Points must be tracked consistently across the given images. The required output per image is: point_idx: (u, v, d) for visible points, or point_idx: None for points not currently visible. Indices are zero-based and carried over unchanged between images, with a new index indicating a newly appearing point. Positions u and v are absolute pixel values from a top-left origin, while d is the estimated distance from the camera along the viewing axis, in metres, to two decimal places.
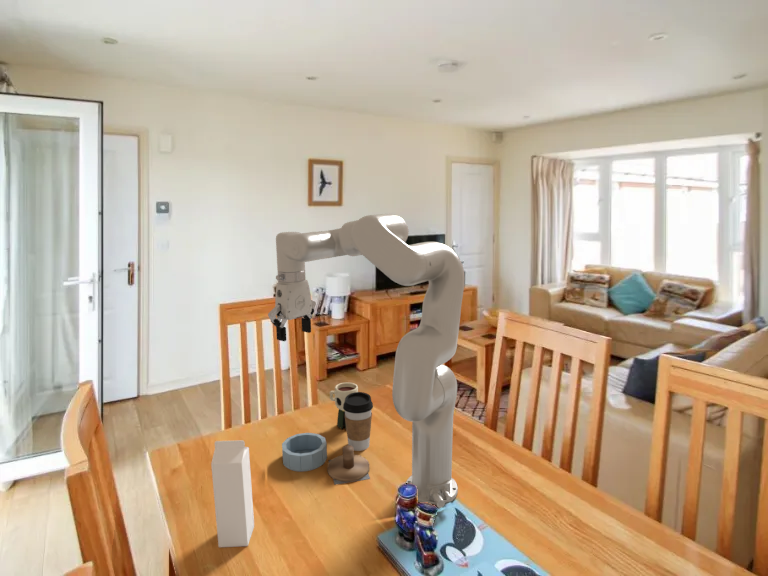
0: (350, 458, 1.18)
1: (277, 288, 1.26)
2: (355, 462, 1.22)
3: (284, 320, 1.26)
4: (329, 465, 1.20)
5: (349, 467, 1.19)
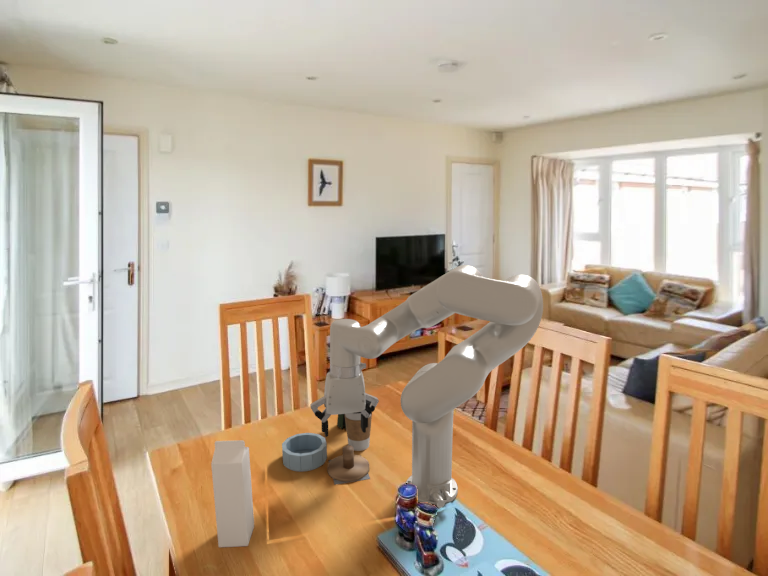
0: (350, 458, 1.18)
1: (363, 379, 1.16)
2: (355, 462, 1.22)
3: None
4: (329, 465, 1.20)
5: (349, 467, 1.19)
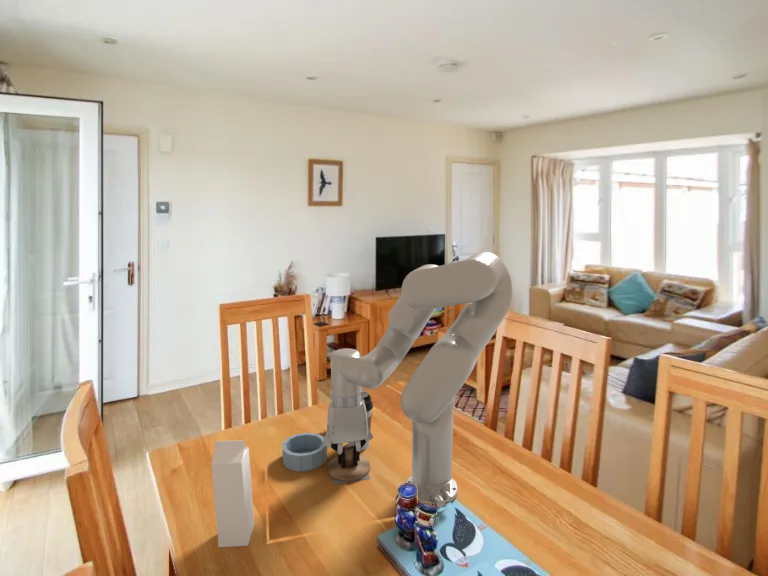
0: (351, 457, 1.18)
1: (365, 407, 1.17)
2: None
3: None
4: (329, 465, 1.20)
5: (349, 467, 1.19)
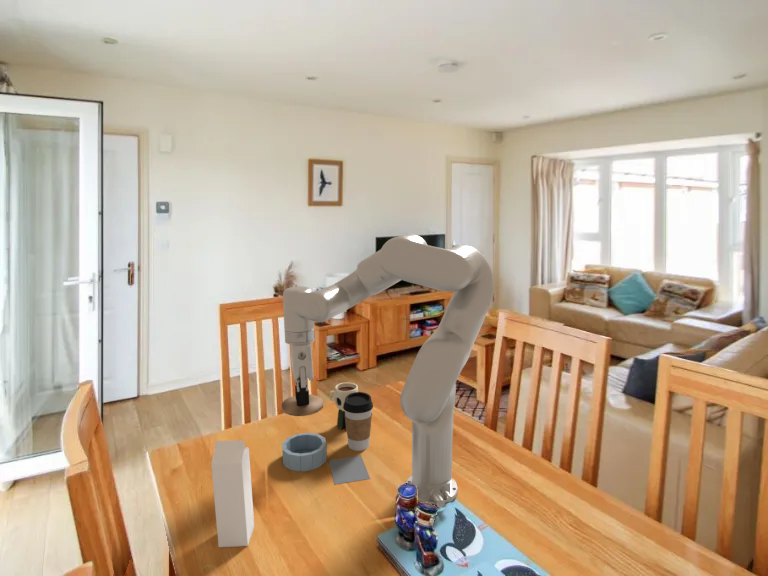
0: None
1: (297, 351, 1.14)
2: (307, 405, 1.20)
3: (307, 383, 1.19)
4: None
5: None
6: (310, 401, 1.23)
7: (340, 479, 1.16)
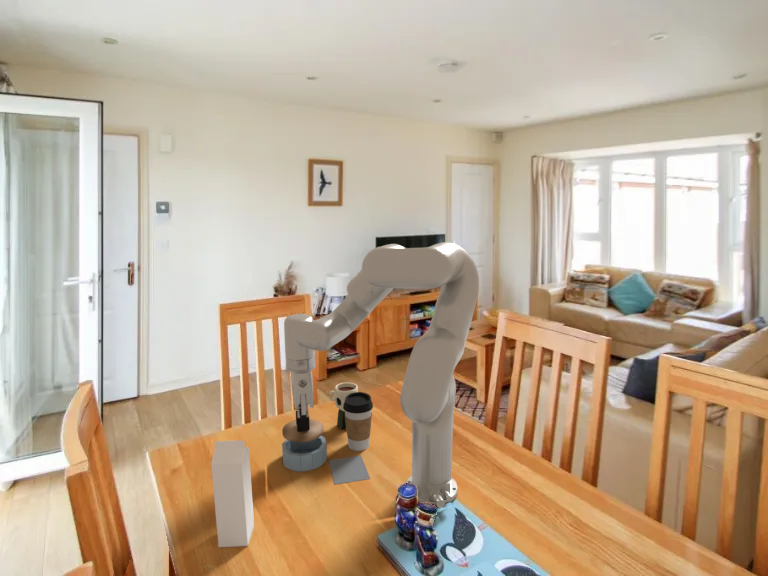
0: None
1: (298, 378, 1.16)
2: (307, 431, 1.22)
3: None
4: None
5: None
6: (310, 426, 1.24)
7: (340, 479, 1.16)
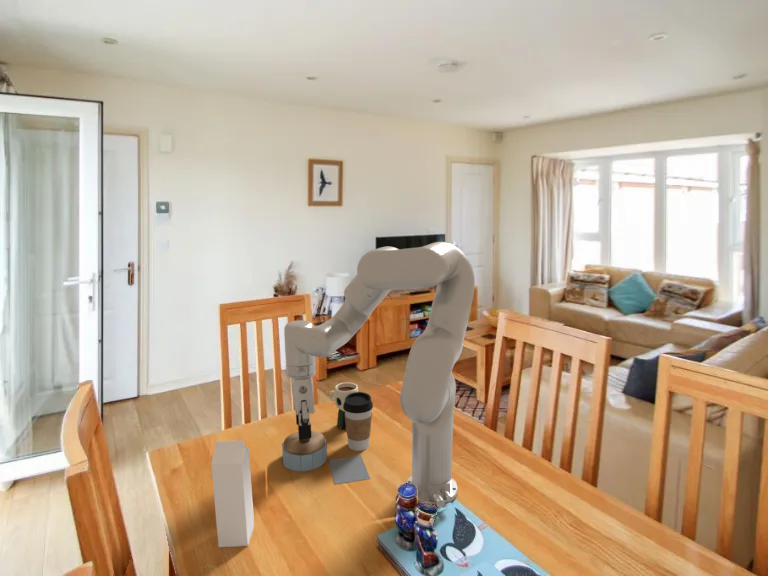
0: None
1: (298, 385, 1.16)
2: (309, 443, 1.22)
3: (309, 416, 1.19)
4: None
5: None
6: (312, 438, 1.25)
7: (340, 479, 1.16)
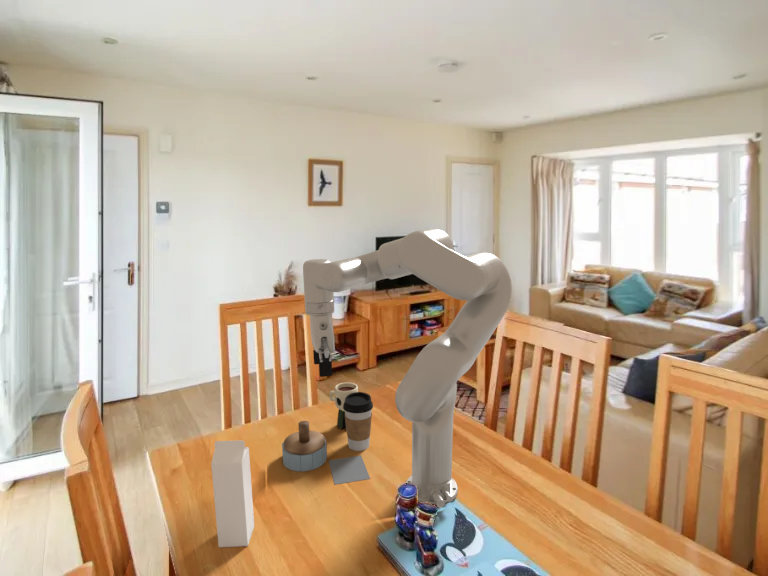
0: (299, 432, 1.23)
1: (319, 321, 1.16)
2: (309, 443, 1.22)
3: (329, 353, 1.18)
4: None
5: (299, 439, 1.24)
6: (312, 438, 1.25)
7: (340, 479, 1.16)
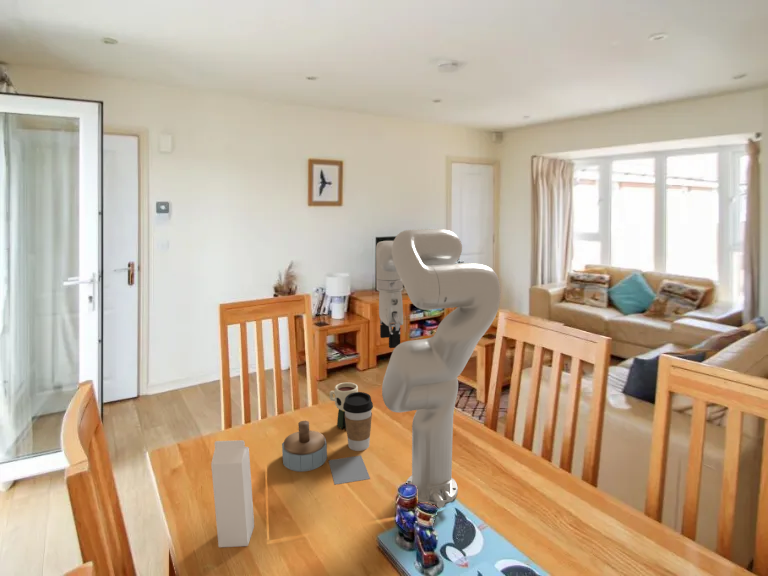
0: (299, 432, 1.23)
1: (390, 297, 1.28)
2: (309, 443, 1.22)
3: None
4: None
5: (299, 439, 1.24)
6: (312, 438, 1.25)
7: (340, 479, 1.16)
